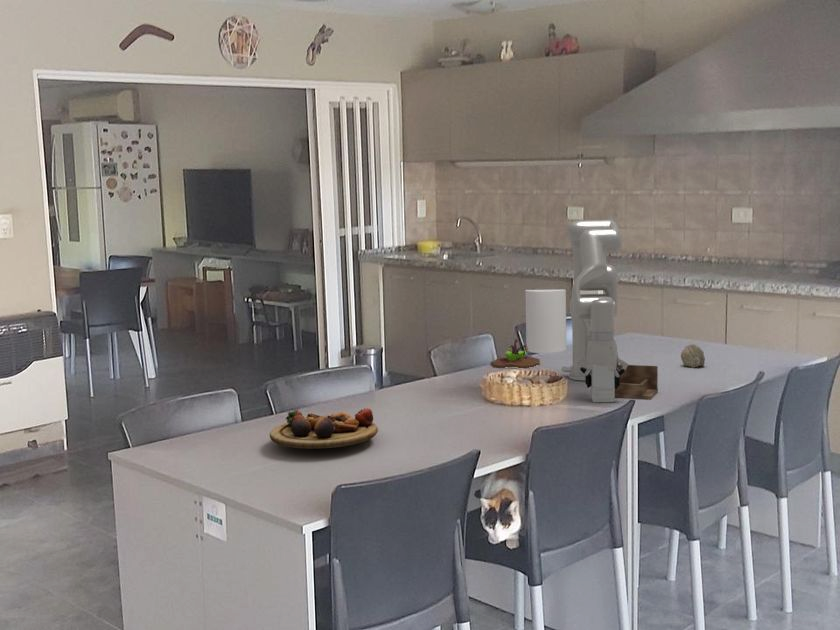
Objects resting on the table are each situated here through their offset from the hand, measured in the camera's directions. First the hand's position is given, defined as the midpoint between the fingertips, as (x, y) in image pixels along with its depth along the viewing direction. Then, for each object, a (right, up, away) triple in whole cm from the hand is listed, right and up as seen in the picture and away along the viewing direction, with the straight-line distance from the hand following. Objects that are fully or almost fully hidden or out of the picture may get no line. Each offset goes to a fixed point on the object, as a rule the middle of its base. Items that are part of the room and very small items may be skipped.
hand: (602, 387), depth 328 cm
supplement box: (0, -5, +1) cm, 5 cm away
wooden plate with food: (-90, -12, -36) cm, 97 cm away
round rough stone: (+45, +3, +53) cm, 69 cm away
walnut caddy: (+10, -3, +9) cm, 14 cm away
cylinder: (-6, +7, +99) cm, 100 cm away
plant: (-22, +3, +72) cm, 75 cm away
